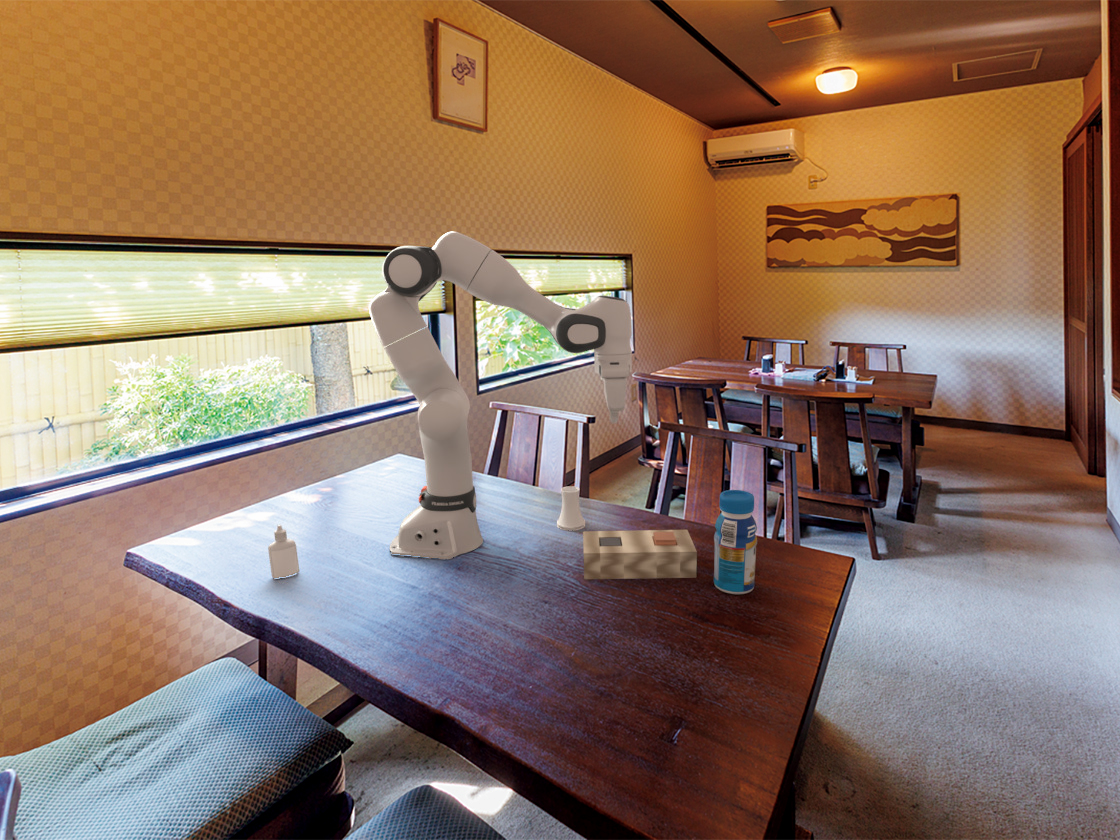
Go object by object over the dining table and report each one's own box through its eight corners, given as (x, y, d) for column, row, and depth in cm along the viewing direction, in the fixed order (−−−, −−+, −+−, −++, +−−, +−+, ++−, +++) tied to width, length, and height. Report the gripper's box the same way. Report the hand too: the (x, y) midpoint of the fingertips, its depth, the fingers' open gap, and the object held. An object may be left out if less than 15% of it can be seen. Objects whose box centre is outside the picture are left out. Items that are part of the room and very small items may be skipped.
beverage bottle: (705, 579, 134) (708, 490, 130) (742, 574, 136) (745, 486, 132) (724, 598, 126) (727, 503, 122) (763, 592, 128) (767, 499, 124)
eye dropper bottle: (295, 579, 140) (289, 528, 138) (269, 580, 140) (262, 530, 137) (301, 570, 144) (295, 520, 142) (276, 572, 144) (269, 522, 141)
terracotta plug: (655, 563, 139) (655, 539, 138) (653, 554, 143) (653, 532, 142) (675, 562, 139) (676, 539, 138) (672, 554, 143) (673, 531, 142)
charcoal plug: (601, 569, 140) (600, 545, 138) (600, 560, 144) (600, 537, 143) (621, 568, 139) (621, 545, 138) (619, 560, 144) (619, 537, 142)
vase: (558, 519, 170) (557, 484, 168) (586, 520, 169) (585, 484, 167) (555, 530, 163) (553, 493, 161) (584, 531, 162) (583, 494, 160)
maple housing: (584, 579, 136) (583, 553, 135) (583, 555, 148) (583, 531, 146) (696, 577, 135) (696, 551, 134) (686, 553, 147) (687, 529, 146)
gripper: (598, 360, 160) (599, 413, 163) (601, 371, 140) (602, 432, 143) (623, 359, 160) (623, 412, 163) (630, 370, 140) (630, 431, 143)
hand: (613, 422), depth 153 cm, fingers closed
